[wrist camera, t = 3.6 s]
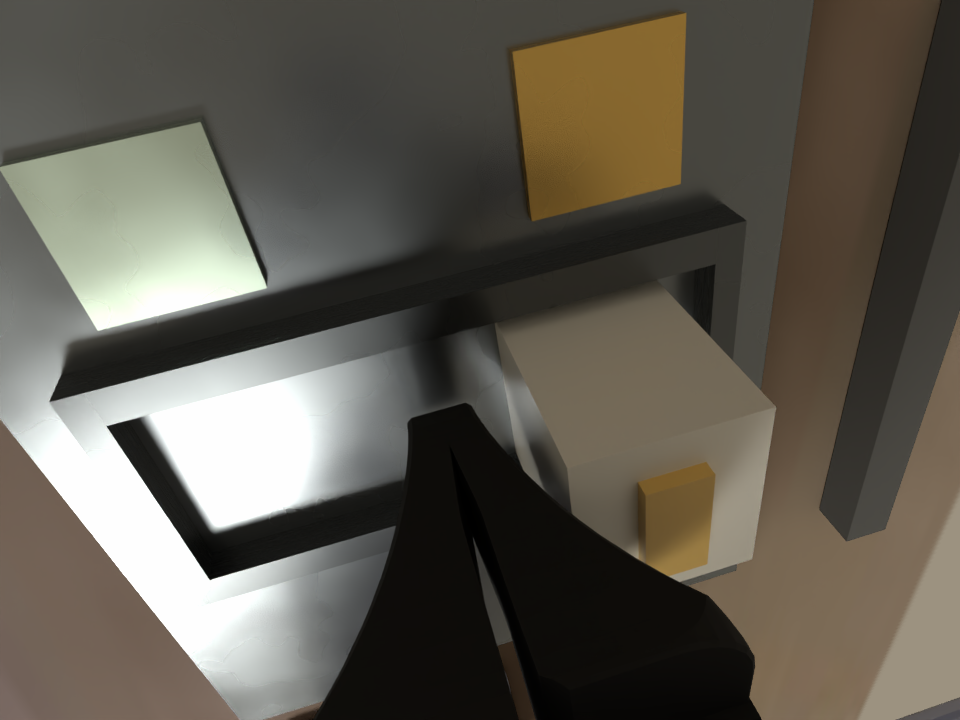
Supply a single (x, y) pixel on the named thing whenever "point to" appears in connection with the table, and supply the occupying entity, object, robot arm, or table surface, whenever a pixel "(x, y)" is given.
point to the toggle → (640, 427)
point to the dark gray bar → (905, 305)
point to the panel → (346, 263)
